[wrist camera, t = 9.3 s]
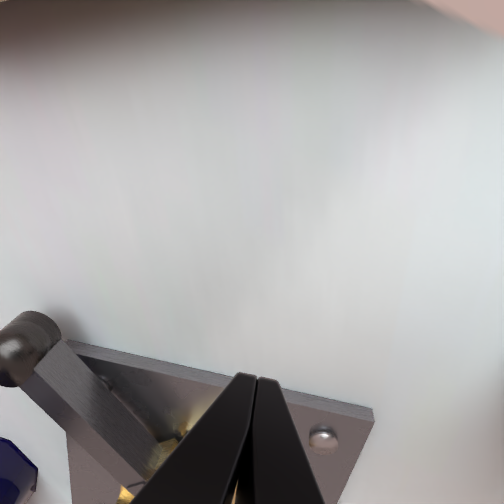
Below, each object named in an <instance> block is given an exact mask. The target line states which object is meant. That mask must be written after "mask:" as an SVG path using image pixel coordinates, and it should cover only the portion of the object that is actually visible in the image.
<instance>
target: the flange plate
mask: <svg viewBox="0 0 504 504" xmlns="http://www.w3.org/2000/svg"><path fill="white" fill-rule="evenodd" d="M65 343H66V344H67V345H68V346H69V348H70V349H71V350H72V351H73V352H74V353H75V354H76V355H77V356H78V357H79V358H80V359H81V360H82V361H83V362H84V363H85V365H86V366H87V367H88V368H89V369H90V370H91V371H92V372H93V373H94V374H95V375H96V376H97V377H98V378H99V379H100V381H101V382H102V383H103V384H104V385H105V386H106V387H107V388H108V389H109V390H110V391H111V392H112V393H113V394H114V395H115V396H116V398H117V399H118V400H119V401H120V402H121V403H122V404H123V405H124V406H125V407H126V408H127V409H128V410H129V411H130V412H131V414H132V415H133V416H134V417H135V418H136V419H137V420H138V421H139V422H140V423H141V424H142V425H143V426H144V427H145V428H146V430H147V431H148V432H149V433H150V434H151V435H152V436H153V437H154V438H155V439H156V440H157V441H158V442H159V443H161V442H164V441H166V440H169V439H172V438H176V439H177V441H178V442H180V441H181V440H182V439H183V438H184V436H185V435H186V434H187V433H188V432H189V430H190V429H191V428H192V427H193V426H194V424H195V423H196V422H197V421H198V419H199V418H200V417H201V416H202V415H203V413H204V412H205V411H206V410H207V409H208V407H209V406H210V405H211V404H212V403H213V401H214V400H215V399H216V398H217V397H218V395H219V394H220V393H221V392H222V391H223V389H224V388H225V387H226V386H227V384H228V383H229V382H230V381H231V380H232V378H233V377H230V376H226V375H221V374H217V373H212V372H208V371H204V370H199V369H195V368H190V367H186V366H182V365H177V364H173V363H168V362H164V361H160V360H155V359H151V358H146V357H142V356H138V355H133V354H129V353H124V352H120V351H116V350H111V349H107V348H102V347H98V346H94V345H89V344H85V343H80V342H76V341H72V340H67V341H66V342H65ZM281 389H282V392H283V394H284V397H285V400H286V402H287V405H288V407H289V410H290V413H291V415H292V418H293V420H294V423H295V426H296V428H297V431H298V433H299V436H300V438H301V441H302V444H303V446H304V449H305V451H306V454H307V457H308V459H309V462H310V464H311V467H312V470H313V472H314V475H315V477H316V480H317V483H318V485H319V488H320V490H321V493H322V496H323V498H324V501H325V503H326V504H337V502H338V500H339V498H340V496H341V493H342V491H343V489H344V487H345V485H346V483H347V481H348V478H349V476H350V474H351V472H352V470H353V468H354V465H355V463H356V461H357V459H358V457H359V455H360V452H361V450H362V448H363V446H364V444H365V442H366V440H367V437H368V435H369V433H370V431H371V429H372V427H373V424H374V417H373V412H372V409H371V408H366V407H362V406H358V405H353V404H349V403H344V402H340V401H336V400H331V399H327V398H322V397H318V396H314V395H309V394H305V393H300V392H296V391H292V390H287V389H283V388H281ZM66 437H67V449H68V460H69V471H70V483H71V494H72V504H116V502H117V500H118V498H119V495H120V488H121V484H120V483H119V482H118V481H117V480H116V479H115V478H114V477H113V476H112V475H111V474H109V473H108V472H107V471H106V470H105V469H104V468H103V467H102V466H101V465H100V464H99V463H98V462H97V461H96V460H95V459H94V458H93V457H92V456H91V455H90V454H89V453H88V452H87V451H85V450H84V449H83V448H82V447H81V446H80V445H79V444H78V443H77V442H76V441H75V440H74V439H73V438H72V437H71V436H70V435H69V434H68V433H67V432H66Z"/></svg>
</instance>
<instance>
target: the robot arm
mask: <svg viewBox="0 0 504 504" xmlns="http://www.w3.org/2000/svg"><path fill="white" fill-rule="evenodd" d="M236 485H237V488H236ZM235 489H236V495H235V504H326V503H325V501H324V498H323V496H322V493H321V490H320V488H319V485H318V483H317V480H316V477H315V475H314V472H313V470H312V467H311V464H310V462H309V459H308V457H307V454H306V451H305V449H304V446H303V444H302V441H301V438H300V436H299V433H298V431H297V428H296V426H295V423H294V420H293V418H292V415H291V413H290V410H289V407H288V405H287V402H286V400H285V397H284V394H283V392H282V389H281V387H280V384H279V382H278V381H277V380H274V379H269V378H265V377H259V378H258V380H257V377H256V376H255V375H251V374H247V373H242V372H239V373H237V374H236V375H235V376H234V377H233V378H232V380H231V381H230V382H229V383H228V384H227V386H226V387H225V388H224V389H223V391H222V392H221V393H220V394H219V395H218V397H217V398H216V399H215V400H214V401H213V403H212V404H211V405H210V406H209V407H208V409H207V410H206V411H205V412H204V413H203V415H202V416H201V417H200V418H199V419H198V421H197V422H196V423H195V424H194V426H193V427H192V428H191V429H190V430H189V432H188V433H187V434H186V435H185V436H184V438H183V439H182V440H181V441H180V442H179V444H178V445H177V446H176V447H175V448H174V450H173V451H172V452H171V453H170V454H169V456H168V457H167V458H166V459H165V461H164V462H163V463H162V464H161V465H160V467H159V468H158V469H157V470H156V471H155V473H154V474H153V475H152V476H151V477H150V479H149V480H148V481H147V482H146V483H145V485H144V486H143V487H142V488H141V490H140V491H139V492H138V493H137V494H136V496H135V497H134V498H133V499H132V500H131V502H130V503H129V504H232V501H233V497H234V493H235Z"/></svg>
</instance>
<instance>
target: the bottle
mask: <svg viewBox="0 0 504 504" xmlns="http://www.w3.org/2000/svg"><path fill="white" fill-rule="evenodd" d="M37 473H38V468H37V467H36V466H35V465H34V464H33V463H32V462H31V461H30V460H29V459H28V458H27V457H26V456H25V455H24V454H23V453H22V452H21V451H20V450H19V449H18V448H17V447H16V446H15V445H14V444H13V443H12V442H11V441H10V440H7V439H4V438H1V437H0V504H26V502H27V501H28V499H29V498H30V496H31V495H32V493H33V492H35V491H36V482H37Z"/></svg>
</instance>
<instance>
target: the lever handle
mask: <svg viewBox="0 0 504 504" xmlns="http://www.w3.org/2000/svg"><path fill="white" fill-rule="evenodd" d="M0 385H1V386H4V387H18V386H19V387H20V388H21V389H22V390H23V391H24V392H25V393H26V394H27V395H28V396H29V397H30V398H31V399H32V400H33V401H34V402H35V403H36V404H37V405H39V406H40V407H41V408H42V409H43V410H44V411H45V412H46V413H47V414H48V415H49V416H50V417H51V418H52V419H53V420H54V421H55V422H56V423H57V424H58V425H59V426H60V427H61V428H63V429H64V430H65V431H66V432H67V433H68V434H69V435H70V436H71V437H72V438H73V439H74V440H75V441H76V442H77V443H78V444H79V445H80V446H81V447H82V448H83V449H84V450H85V451H87V452H88V453H89V454H90V455H91V456H92V457H93V458H94V459H95V460H96V461H97V462H98V463H99V464H100V465H101V466H102V467H103V468H104V469H105V470H106V471H107V472H108V473H109V474H111V475H112V476H113V477H114V478H115V479H116V480H117V481H118V482H119V483H120V484H121V488H120V495H119V498H118V500H117V502H116V504H129V503H130V502H131V500H132V499H133V498H134V497H135V496H136V494H137V493H138V492H139V491H140V490H141V488H142V487H143V486H144V485H145V483H146V482H147V481H148V480H149V479H150V477H151V476H152V475H153V474H154V473H155V471H156V470H157V469H158V468H159V467H160V465H161V464H162V463H163V462H164V461H165V459H166V458H167V457H168V456H169V454H170V453H171V452H172V451H173V450H174V448H175V447H176V446H177V445H178V444H179V442H178V441H177V439H176V438H172V439H169V440H166V441H164V442H161V443H159V442H158V441H157V440H156V439H155V438H154V437H153V436H152V435H151V434H150V433H149V432H148V431H147V430H146V428H145V427H144V426H143V425H142V424H141V423H140V422H139V421H138V420H137V419H136V418H135V417H134V416H133V415H132V414H131V412H130V411H129V410H128V409H127V408H126V407H125V406H124V405H123V404H122V403H121V402H120V401H119V400H118V399H117V398H116V396H115V395H114V394H113V393H112V392H111V391H110V390H109V389H108V388H107V387H106V386H105V385H104V384H103V383H102V382H101V381H100V379H99V378H98V377H97V376H96V375H95V374H94V373H93V372H92V371H91V370H90V369H89V368H88V367H87V366H86V365H85V363H84V362H83V361H82V360H81V359H80V358H79V357H78V356H77V355H76V354H75V353H74V352H73V351H72V350H71V349H70V348H69V346H68V345H67V344H66V343H65V342H64V341H63V340H62V339H61V332H60V330H59V328H58V326H57V325H56V323H55V322H54V321H53V320H52V319H50V318H49V317H48V316H46V315H44V314H42V313H39V312H36V311H26V312H23V313H21V314H20V315H18V316H17V317H16V318H15V319H14V320H12V321H11V322H10V323H9V324H8V325H6V326H5V327H4V328H3V329H2V330H0ZM236 488H237V485H236ZM235 495H236V489H235V493H234V497H233V501H232V504H235Z"/></svg>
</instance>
